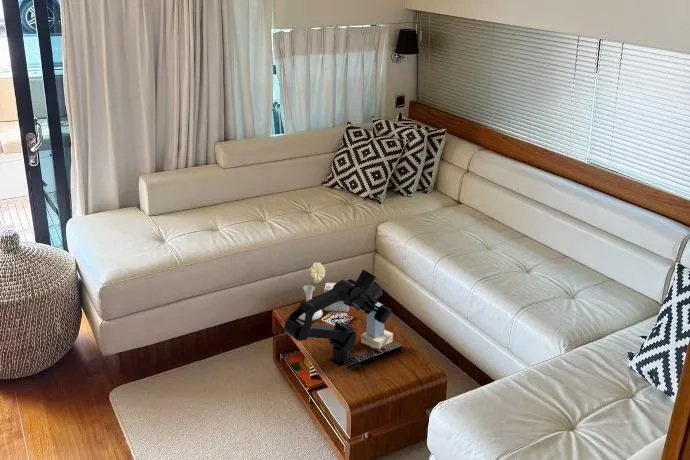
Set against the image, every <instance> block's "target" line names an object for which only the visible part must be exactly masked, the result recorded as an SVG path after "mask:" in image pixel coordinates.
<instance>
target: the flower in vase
mask: <svg viewBox="0 0 690 460" xmlns="http://www.w3.org/2000/svg"><path fill="white" fill-rule="evenodd" d="M310 276H311V277H312V280H311V282H310V283H309V282H307V283H306V282H303V284H305V285H304V286H303V287H302V290H303V291H304V294H305V298H306V299H305V301H308V300H310V299H313V297H312V296H313V291H314V290H315V288H316V287H315V286H314V285H312V284H313V282H314V283H315V284H319V283H320V282H321V281H322V280H323V279H325V276H326V269H325V266H324V265H323V264H322V263H321V262H313V263H312V265H311V266H310ZM322 316H323V309H321V310H319V311H317V312H315V314H314V315H313V317H312V322H313V321H316V320H318V319H320V318H321V317H322ZM297 319H298V320H299V319H300V321H305V313H303V314H302V315H301V316H299V317H298V318H297Z"/></svg>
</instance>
